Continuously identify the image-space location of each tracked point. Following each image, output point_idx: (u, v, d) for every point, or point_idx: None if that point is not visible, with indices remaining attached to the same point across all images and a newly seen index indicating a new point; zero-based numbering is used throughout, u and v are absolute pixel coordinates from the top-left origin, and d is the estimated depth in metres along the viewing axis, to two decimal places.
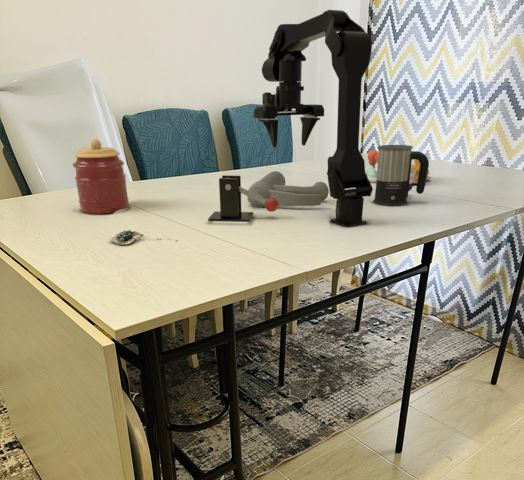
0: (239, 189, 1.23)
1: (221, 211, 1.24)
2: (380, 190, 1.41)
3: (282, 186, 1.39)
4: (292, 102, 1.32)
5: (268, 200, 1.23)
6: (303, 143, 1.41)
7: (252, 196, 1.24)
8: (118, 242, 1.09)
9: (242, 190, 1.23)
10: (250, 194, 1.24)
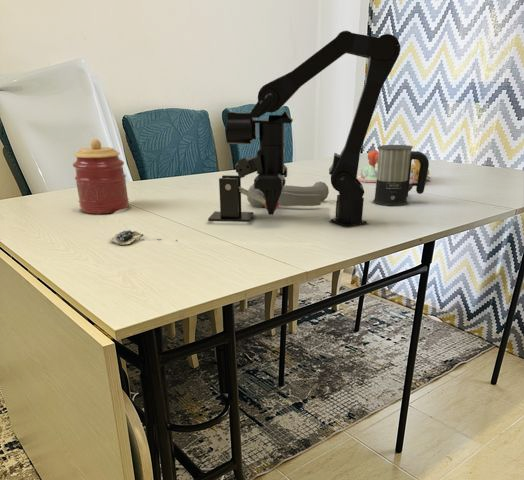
0: (239, 189, 1.23)
1: (221, 211, 1.24)
2: (380, 190, 1.41)
3: None
4: (283, 166, 1.20)
5: None
6: None
7: (252, 196, 1.24)
8: (118, 242, 1.09)
9: (242, 190, 1.23)
10: (250, 194, 1.24)
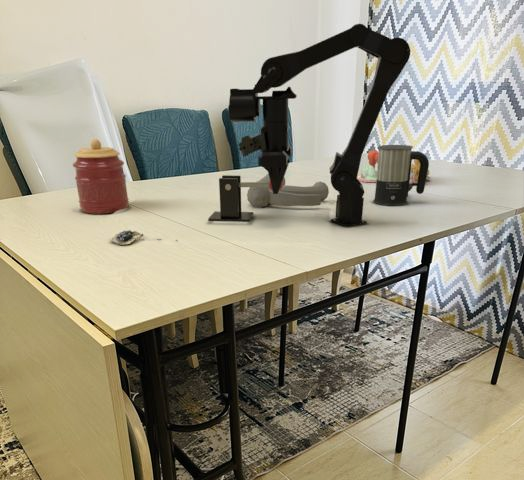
0: (240, 184, 1.23)
1: (221, 211, 1.24)
2: (380, 190, 1.41)
3: (282, 186, 1.39)
4: (287, 143, 1.17)
5: None
6: None
7: (254, 185, 1.23)
8: (118, 242, 1.09)
9: (243, 184, 1.23)
10: (252, 184, 1.22)
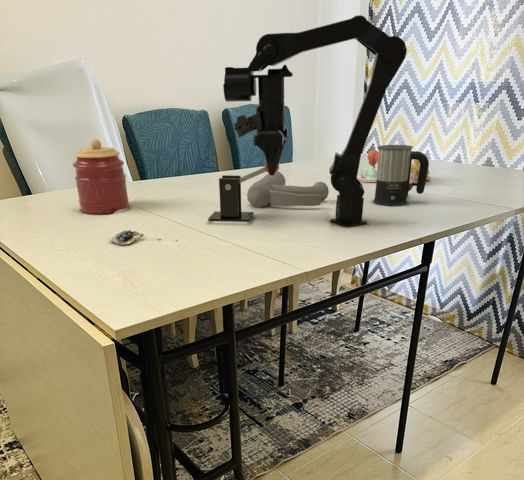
0: (239, 180, 1.22)
1: (221, 211, 1.24)
2: (380, 190, 1.41)
3: (282, 186, 1.39)
4: (283, 123, 1.15)
5: (265, 165, 1.20)
6: None
7: (252, 175, 1.22)
8: (118, 242, 1.09)
9: (241, 179, 1.22)
10: (249, 175, 1.22)
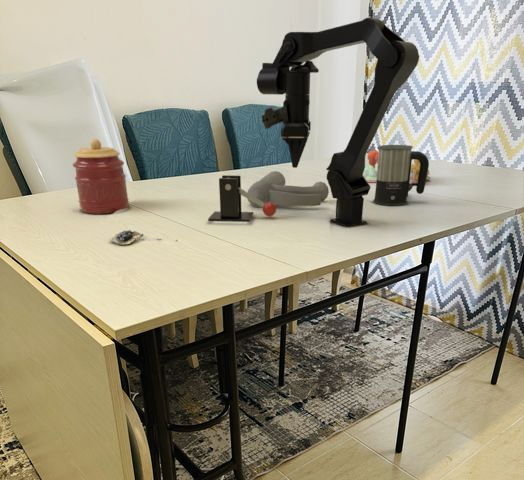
0: (239, 190, 1.24)
1: (221, 211, 1.24)
2: (380, 190, 1.41)
3: (282, 186, 1.39)
4: (308, 117, 1.22)
5: (266, 204, 1.24)
6: None
7: (251, 199, 1.24)
8: (118, 242, 1.09)
9: (241, 191, 1.24)
10: (249, 196, 1.24)
